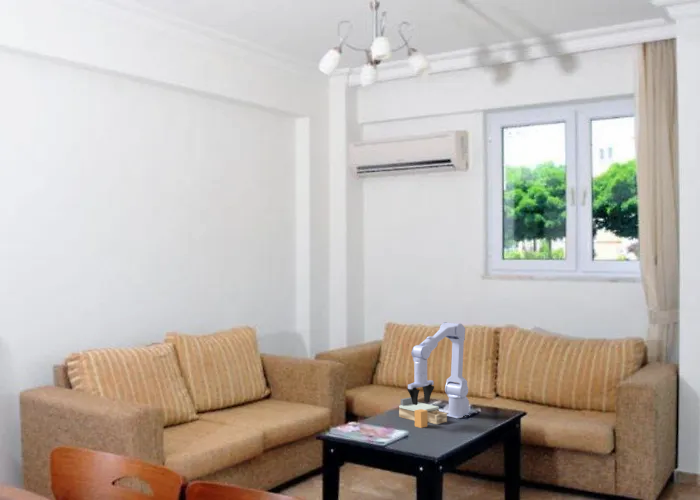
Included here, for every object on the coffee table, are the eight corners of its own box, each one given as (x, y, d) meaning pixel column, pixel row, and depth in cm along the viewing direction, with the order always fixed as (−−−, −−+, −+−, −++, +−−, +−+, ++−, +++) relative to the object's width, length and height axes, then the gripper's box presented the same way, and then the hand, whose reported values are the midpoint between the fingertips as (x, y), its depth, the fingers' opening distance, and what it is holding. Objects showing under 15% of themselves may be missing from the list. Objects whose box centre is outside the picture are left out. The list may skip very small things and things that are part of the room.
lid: (416, 403, 349) (416, 395, 349) (439, 408, 339) (439, 400, 339) (399, 407, 341) (399, 399, 341) (421, 412, 331) (421, 404, 331)
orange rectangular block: (421, 424, 327) (421, 409, 327) (427, 426, 324) (427, 410, 324) (414, 426, 324) (414, 410, 324) (421, 427, 321) (421, 411, 321)
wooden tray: (416, 412, 349) (416, 404, 349) (450, 420, 333) (450, 412, 333) (399, 416, 341) (399, 408, 341) (432, 425, 325) (432, 416, 325)
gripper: (416, 375, 316) (416, 407, 316) (438, 371, 326) (438, 402, 326) (404, 373, 321) (404, 404, 321) (426, 369, 331) (426, 399, 331)
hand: (420, 403), depth 324 cm, fingers open, 7 cm apart
